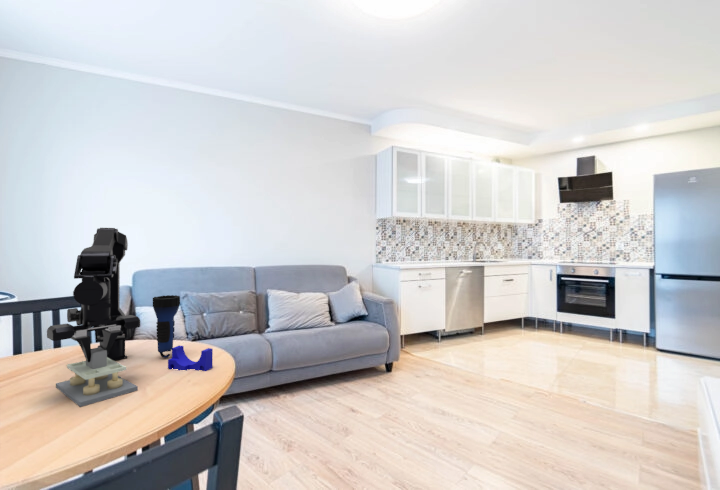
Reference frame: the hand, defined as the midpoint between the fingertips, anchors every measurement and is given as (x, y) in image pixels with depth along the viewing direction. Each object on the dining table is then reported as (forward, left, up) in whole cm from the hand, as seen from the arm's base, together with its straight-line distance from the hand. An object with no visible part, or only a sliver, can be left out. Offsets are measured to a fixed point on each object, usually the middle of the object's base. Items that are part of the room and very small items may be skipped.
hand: (96, 360), depth 93 cm
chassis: (0, 0, -7) cm, 7 cm away
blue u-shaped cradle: (-23, +4, -8) cm, 24 cm away
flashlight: (-23, -12, -8) cm, 27 cm away
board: (0, 0, -2) cm, 2 cm away
